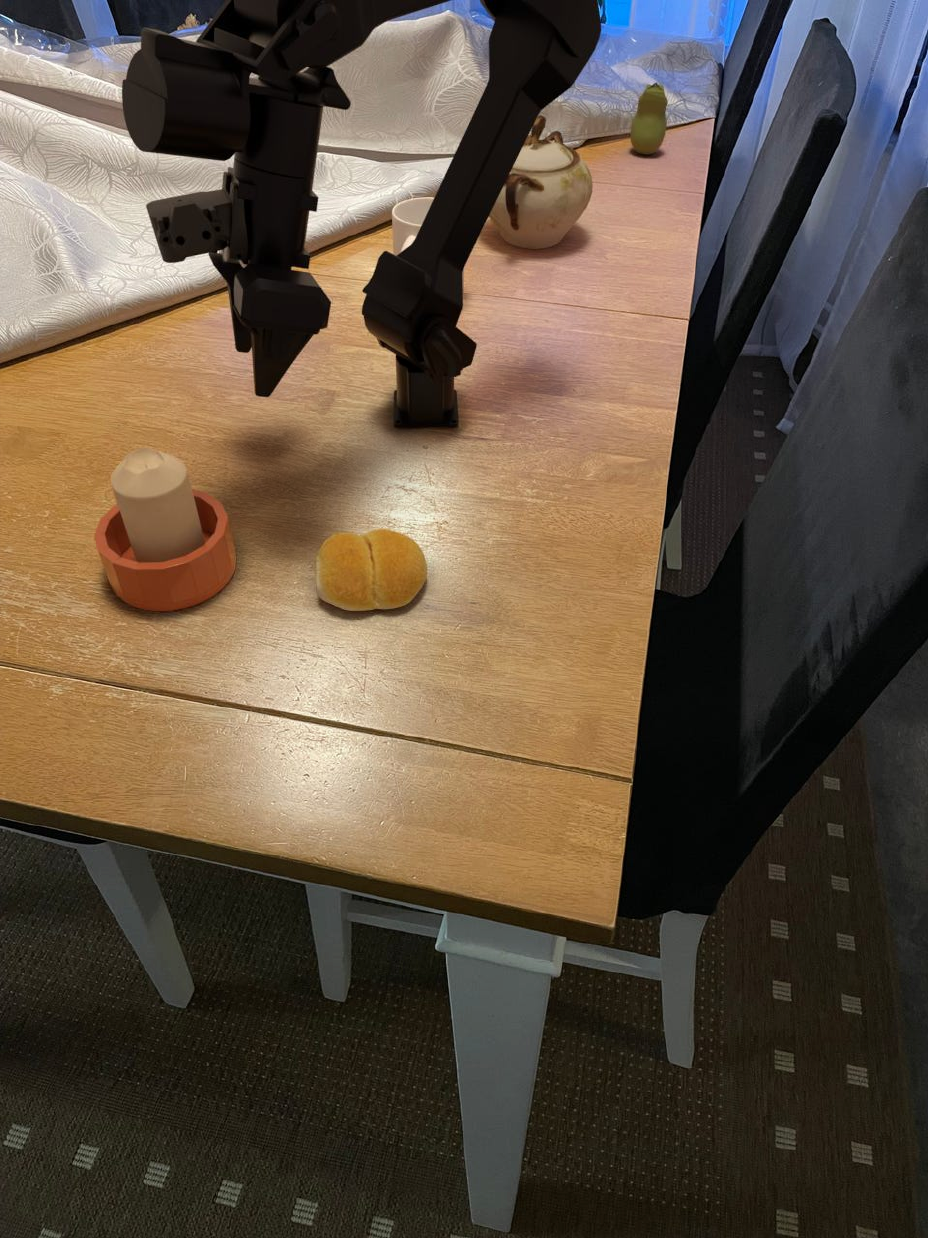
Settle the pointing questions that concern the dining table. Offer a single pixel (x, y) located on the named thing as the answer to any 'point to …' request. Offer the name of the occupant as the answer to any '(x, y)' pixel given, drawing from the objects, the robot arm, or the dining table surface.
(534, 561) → the dining table surface
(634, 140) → the pear
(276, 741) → the dining table surface
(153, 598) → the round reddish orange bowl
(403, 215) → the mug
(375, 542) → the bread roll
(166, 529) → the candle
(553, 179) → the sugar bowl
